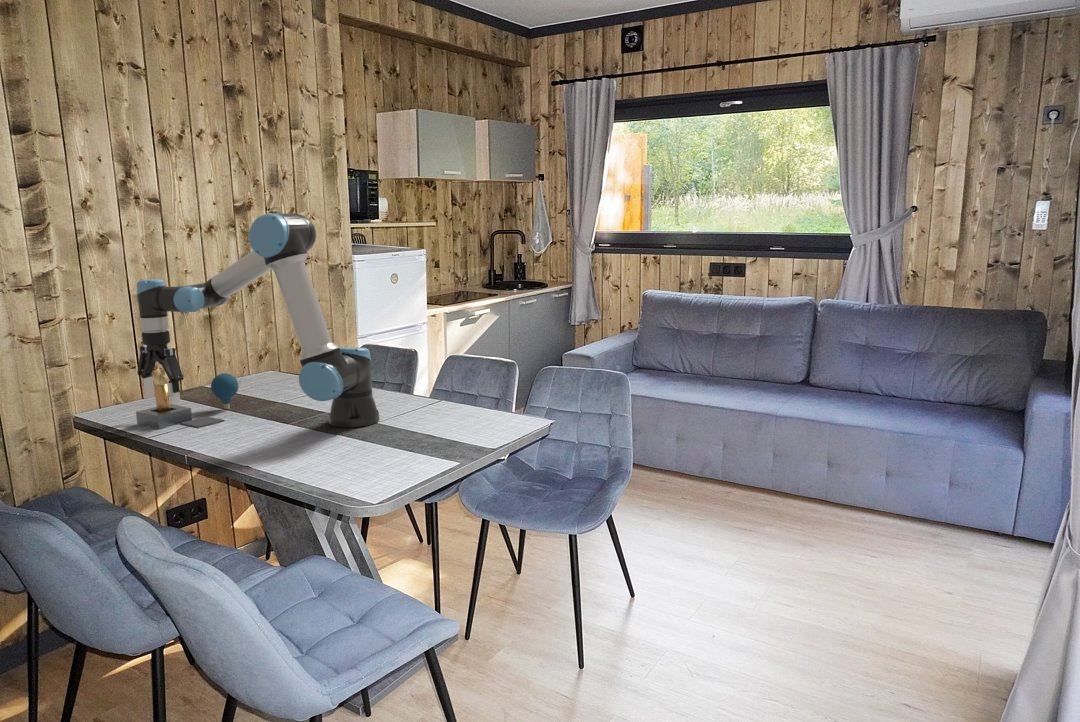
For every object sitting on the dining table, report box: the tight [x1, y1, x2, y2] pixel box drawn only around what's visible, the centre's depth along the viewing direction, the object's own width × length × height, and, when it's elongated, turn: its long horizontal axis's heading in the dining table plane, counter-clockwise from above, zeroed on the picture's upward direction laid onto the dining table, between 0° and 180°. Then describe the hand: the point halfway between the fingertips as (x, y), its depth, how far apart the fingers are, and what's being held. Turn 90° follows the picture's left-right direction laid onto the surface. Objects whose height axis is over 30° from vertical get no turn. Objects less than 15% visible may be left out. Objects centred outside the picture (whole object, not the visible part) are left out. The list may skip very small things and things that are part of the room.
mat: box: [179, 415, 225, 429], centre depth 233 cm, size 9×9×1 cm
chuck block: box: [135, 403, 193, 430], centre depth 233 cm, size 11×11×4 cm
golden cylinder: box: [154, 382, 171, 413], centre depth 232 cm, size 4×4×12 cm
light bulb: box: [210, 372, 240, 410], centre depth 248 cm, size 8×8×12 cm
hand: (162, 400), depth 232 cm, fingers open, 12 cm apart
